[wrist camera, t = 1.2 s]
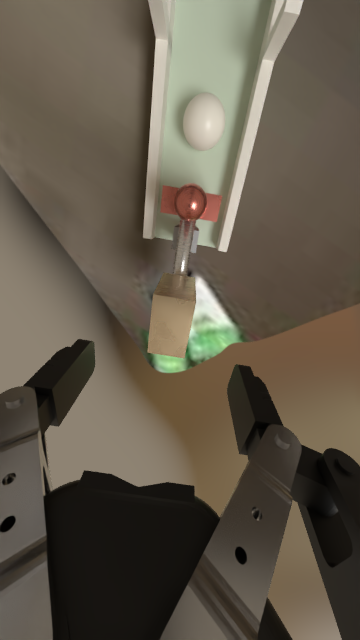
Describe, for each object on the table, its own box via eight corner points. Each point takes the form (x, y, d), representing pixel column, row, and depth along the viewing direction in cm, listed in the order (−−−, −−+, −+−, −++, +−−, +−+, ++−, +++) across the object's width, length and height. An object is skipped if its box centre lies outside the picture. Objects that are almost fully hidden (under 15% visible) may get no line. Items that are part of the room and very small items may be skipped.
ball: (187, 101, 20) (186, 77, 17) (226, 109, 20) (234, 86, 17) (181, 152, 22) (179, 139, 19) (217, 158, 22) (222, 147, 19)
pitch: (170, -47, 17) (154, -236, 10) (287, -24, 17) (354, -192, 10) (148, 235, 27) (133, 242, 20) (222, 247, 27) (233, 259, 20)
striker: (171, 190, 23) (147, 161, 11) (214, 197, 23) (240, 178, 11) (159, 292, 29) (135, 350, 16) (194, 298, 29) (196, 360, 16)
